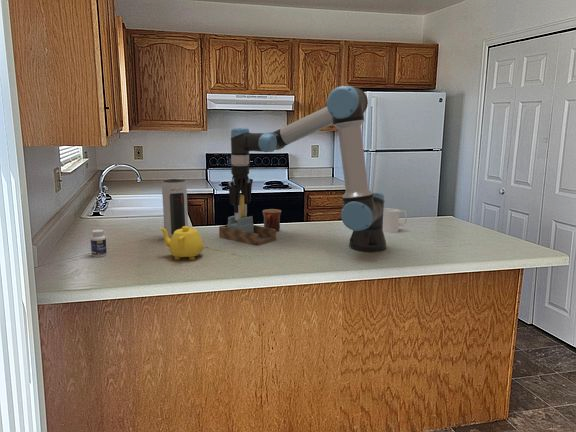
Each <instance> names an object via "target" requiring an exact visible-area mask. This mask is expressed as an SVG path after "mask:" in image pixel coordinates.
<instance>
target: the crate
mask: <svg viewBox="0 0 576 432" xmlns="http://www.w3.org/2000/svg"><path fill="white" fill-rule="evenodd" d="M253 218H254V217H253V215H250V216H247V217H245V218H240V219H238V223H237V220H235V215H232V216H228V217H227V224H226V225H227V228H232V229H237V230H242V231H246V232H251V233H254V225H255V224H254V220H253Z"/></svg>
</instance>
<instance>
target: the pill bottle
mask: <svg viewBox="0 0 576 432" xmlns="http://www.w3.org/2000/svg"><path fill="white" fill-rule="evenodd" d="M91 232H92V235H91V237H90V246H91V249H90V250H91V256H92V257H95V258H102V257H106V256H107V253H108V252H107V238H106V235H104V229H93V230H92V231H91Z"/></svg>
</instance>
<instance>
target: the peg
mask: <svg viewBox="0 0 576 432" xmlns="http://www.w3.org/2000/svg"><path fill="white" fill-rule="evenodd" d="M239 205H240V211H241V218H244V195H241V194H240V199H239ZM237 223H238V220H237Z"/></svg>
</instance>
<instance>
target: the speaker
mask: <svg viewBox="0 0 576 432" xmlns="http://www.w3.org/2000/svg"><path fill="white" fill-rule="evenodd" d="M187 189H188V188H187V180H186V179H177V178H170V179H165V180H161V193H162V194H161V195H162V212H163V228H164V229H166V230H167V233H168V237H169V238H170V239H171V238H172V236H173V234H174V232H175V231H176V230H178V229H182V227H183V226H188V227H189V216H188V215H189V214H188V213H189V212H188V194H187V193H188V190H187Z"/></svg>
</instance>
